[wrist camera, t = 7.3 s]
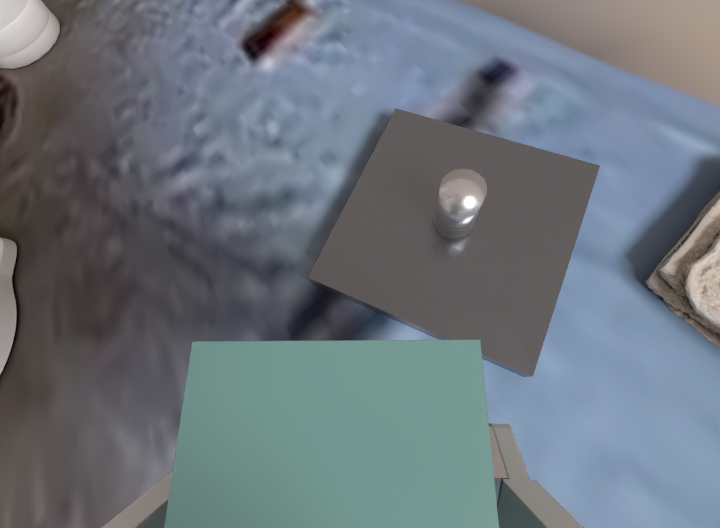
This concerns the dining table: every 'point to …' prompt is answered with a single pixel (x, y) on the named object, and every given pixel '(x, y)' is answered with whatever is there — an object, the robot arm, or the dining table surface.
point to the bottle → (25, 32)
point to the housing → (334, 436)
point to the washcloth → (694, 274)
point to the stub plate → (468, 268)
